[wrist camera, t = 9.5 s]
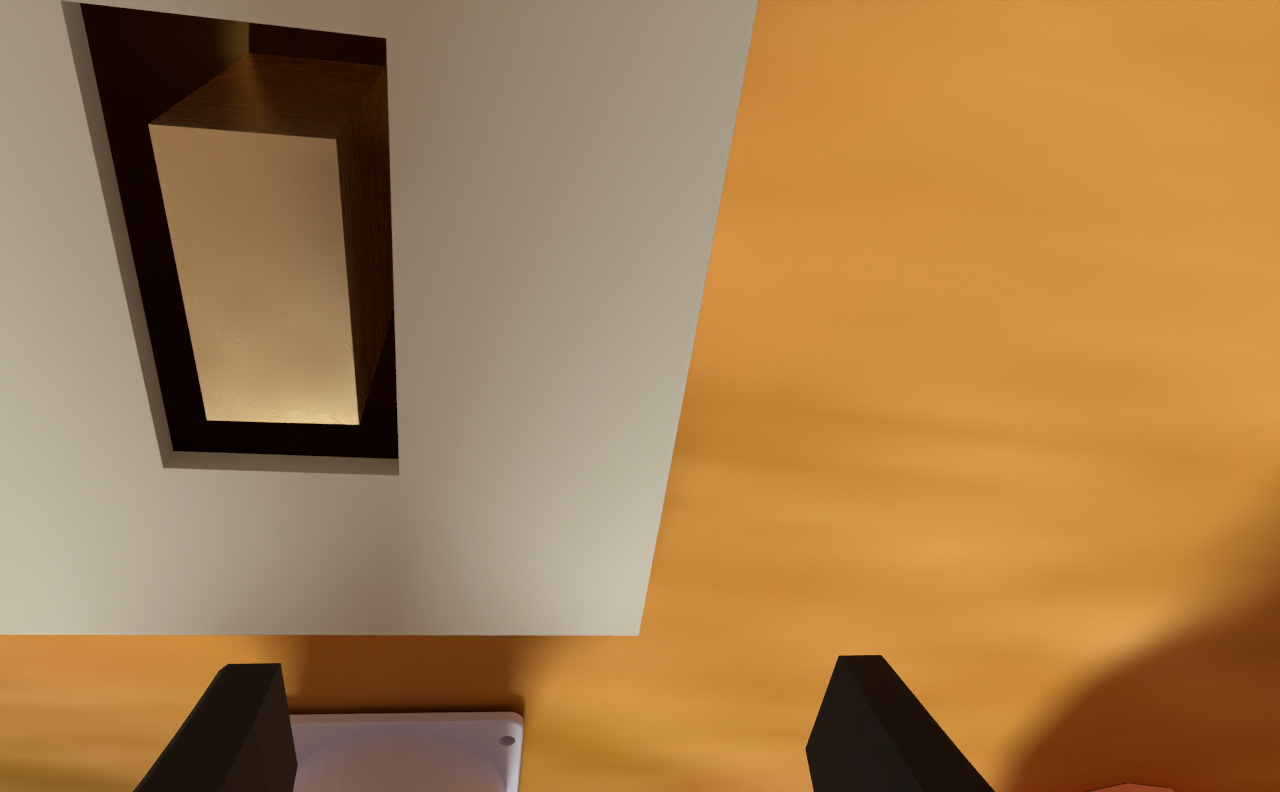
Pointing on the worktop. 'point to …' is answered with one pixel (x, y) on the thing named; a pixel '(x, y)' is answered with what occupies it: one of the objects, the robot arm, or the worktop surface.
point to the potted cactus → (1134, 788)
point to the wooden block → (282, 235)
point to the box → (424, 336)
